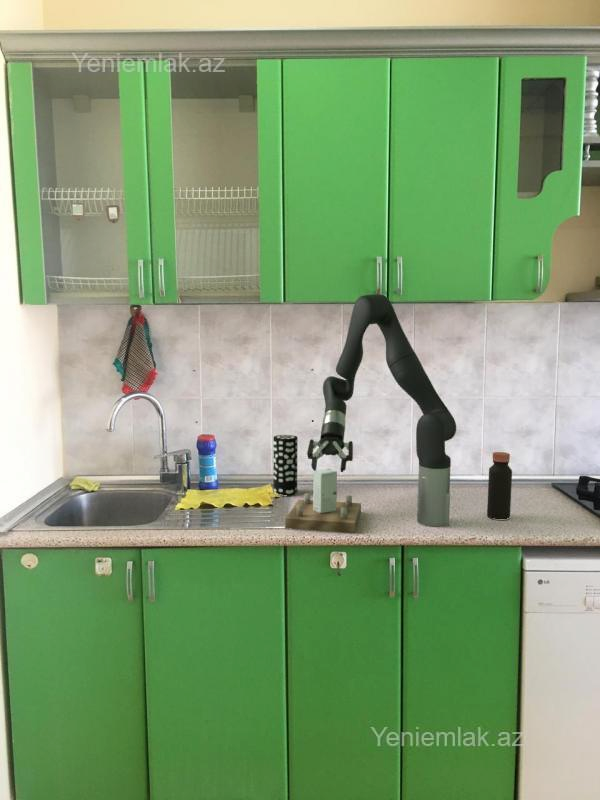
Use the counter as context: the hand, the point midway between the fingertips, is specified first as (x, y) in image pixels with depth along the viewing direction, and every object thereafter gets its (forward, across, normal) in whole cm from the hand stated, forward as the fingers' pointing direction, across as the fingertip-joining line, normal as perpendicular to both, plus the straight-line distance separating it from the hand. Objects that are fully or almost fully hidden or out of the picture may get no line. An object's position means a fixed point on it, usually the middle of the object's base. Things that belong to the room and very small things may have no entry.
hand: (328, 470), depth 190 cm
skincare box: (+12, 0, +4) cm, 13 cm away
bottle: (+5, +52, +15) cm, 55 cm away
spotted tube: (-5, -18, +25) cm, 31 cm away
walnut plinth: (+14, 0, +5) cm, 15 cm away
